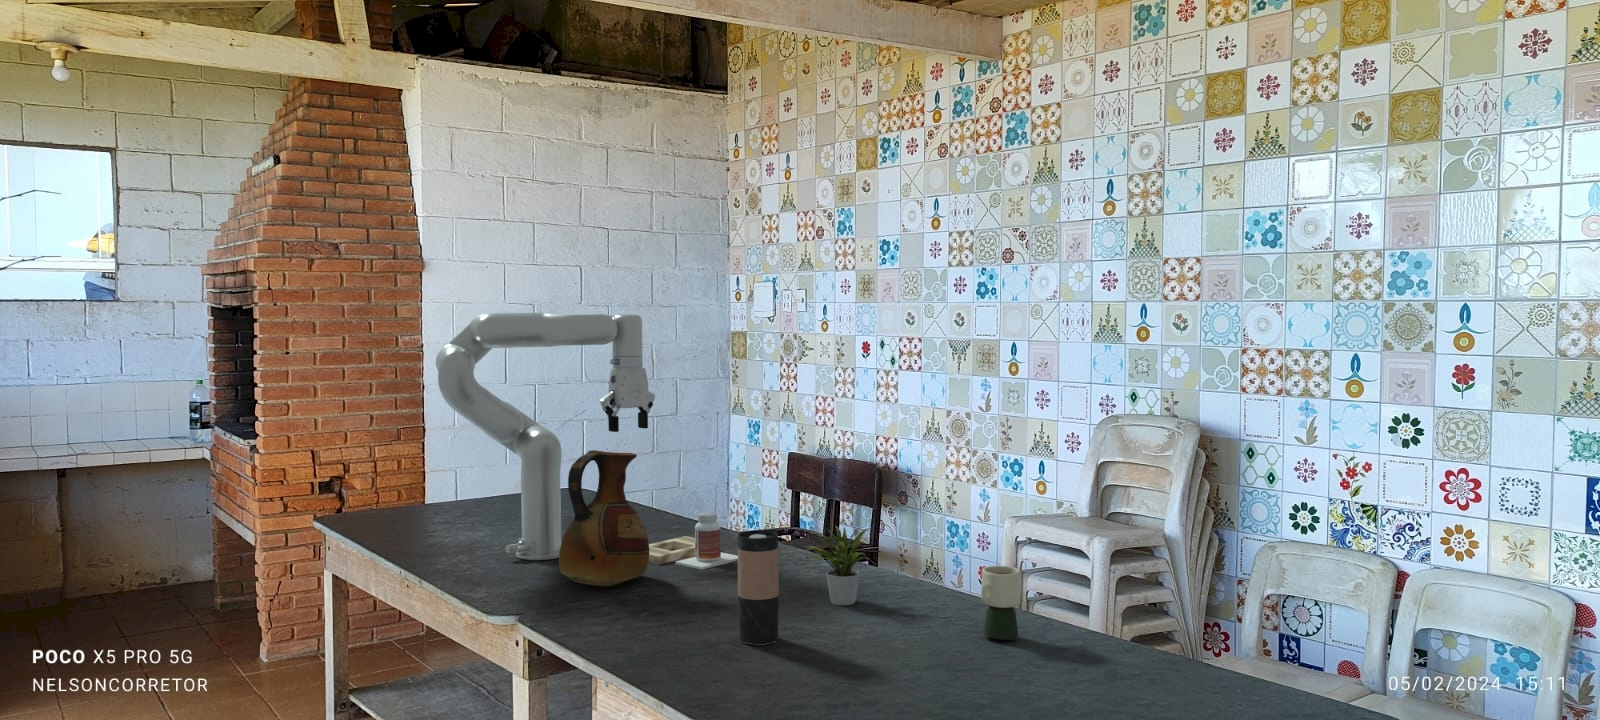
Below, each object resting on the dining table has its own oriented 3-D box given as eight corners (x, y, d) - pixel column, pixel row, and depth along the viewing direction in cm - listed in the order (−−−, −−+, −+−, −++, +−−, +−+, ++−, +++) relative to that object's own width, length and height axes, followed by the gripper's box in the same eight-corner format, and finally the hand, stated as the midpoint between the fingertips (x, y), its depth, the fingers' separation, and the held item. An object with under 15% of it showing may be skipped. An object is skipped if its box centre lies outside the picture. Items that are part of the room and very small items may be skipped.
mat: (701, 569, 266) (701, 567, 266) (675, 563, 272) (675, 561, 272) (742, 559, 276) (742, 556, 276) (716, 553, 282) (716, 551, 282)
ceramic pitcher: (667, 581, 255) (665, 449, 254) (594, 598, 241) (592, 459, 239) (613, 567, 269) (611, 442, 267) (541, 583, 254) (539, 450, 252)
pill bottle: (726, 559, 274) (725, 513, 273) (706, 563, 269) (705, 517, 269) (709, 555, 278) (709, 510, 278) (690, 559, 274) (689, 513, 273)
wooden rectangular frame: (659, 564, 271) (658, 556, 271) (626, 557, 279) (626, 549, 279) (718, 550, 286) (718, 542, 286) (685, 543, 294) (685, 536, 294)
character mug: (1004, 628, 218) (1004, 562, 217) (1034, 636, 212) (1034, 568, 212) (967, 640, 211) (967, 571, 210) (997, 649, 205) (997, 578, 205)
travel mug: (764, 648, 206) (763, 540, 205) (730, 642, 210) (729, 535, 209) (786, 638, 212) (786, 532, 211) (753, 631, 217) (752, 528, 215)
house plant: (844, 588, 249) (844, 514, 248) (892, 599, 239) (892, 523, 238) (798, 600, 239) (797, 523, 238) (845, 613, 229) (845, 533, 228)
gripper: (610, 365, 279) (611, 434, 279) (663, 361, 292) (663, 427, 292) (591, 364, 283) (592, 431, 284) (643, 360, 296) (644, 425, 297)
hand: (628, 429), depth 288 cm, fingers open, 9 cm apart
